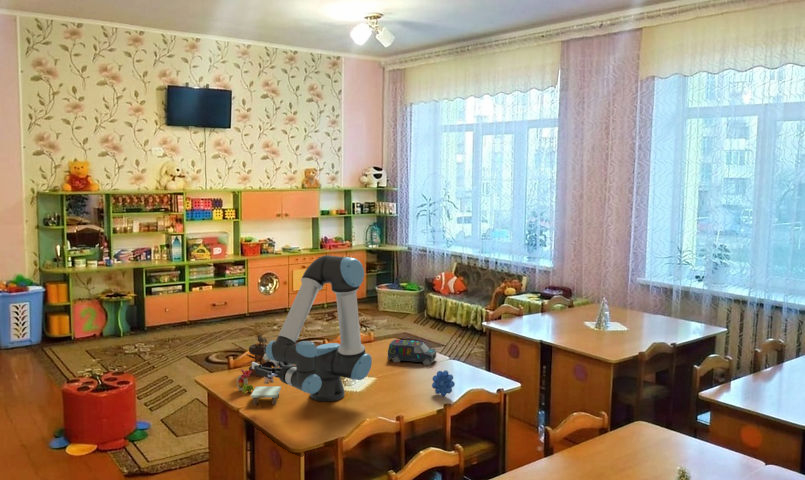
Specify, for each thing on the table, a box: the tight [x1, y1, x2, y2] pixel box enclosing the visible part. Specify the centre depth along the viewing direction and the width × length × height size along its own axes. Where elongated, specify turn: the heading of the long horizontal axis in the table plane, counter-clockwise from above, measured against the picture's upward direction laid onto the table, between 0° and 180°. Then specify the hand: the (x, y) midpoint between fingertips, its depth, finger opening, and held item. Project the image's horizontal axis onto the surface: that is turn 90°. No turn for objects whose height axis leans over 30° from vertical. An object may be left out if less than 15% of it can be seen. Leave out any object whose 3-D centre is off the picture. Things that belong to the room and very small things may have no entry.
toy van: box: [386, 339, 437, 366], centre depth 345 cm, size 11×25×10 cm, turn 76°
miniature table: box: [250, 385, 282, 406], centre depth 286 cm, size 11×11×4 cm
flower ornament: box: [236, 368, 255, 395], centre depth 296 cm, size 6×11×9 cm
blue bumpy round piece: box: [431, 370, 456, 397], centre depth 294 cm, size 12×7×12 cm, turn 54°
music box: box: [246, 333, 269, 378], centre depth 321 cm, size 15×11×20 cm
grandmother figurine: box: [262, 354, 277, 385], centre depth 278 cm, size 8×4×13 cm, turn 134°
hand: (261, 362), depth 281 cm, fingers closed on grandmother figurine, 7 cm apart
